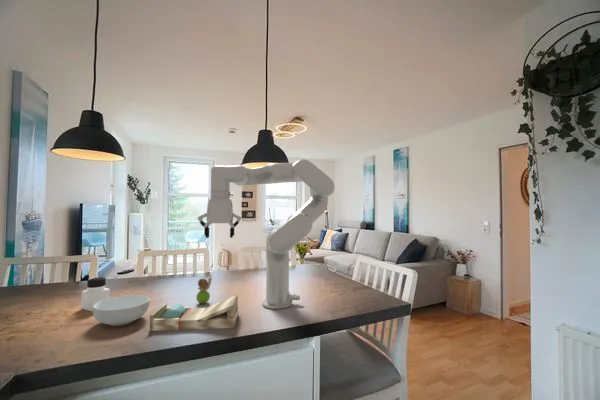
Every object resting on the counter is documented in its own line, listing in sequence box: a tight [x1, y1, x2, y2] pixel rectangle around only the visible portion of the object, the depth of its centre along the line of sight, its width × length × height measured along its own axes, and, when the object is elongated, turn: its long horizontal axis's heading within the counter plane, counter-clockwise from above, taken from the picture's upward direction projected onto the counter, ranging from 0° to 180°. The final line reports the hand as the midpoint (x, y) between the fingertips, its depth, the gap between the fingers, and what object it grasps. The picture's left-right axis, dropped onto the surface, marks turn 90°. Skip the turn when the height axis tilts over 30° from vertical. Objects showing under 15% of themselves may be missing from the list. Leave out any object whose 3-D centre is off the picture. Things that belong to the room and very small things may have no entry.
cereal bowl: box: [92, 294, 151, 327], centre depth 100 cm, size 17×17×7 cm
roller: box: [162, 303, 185, 318], centre depth 99 cm, size 5×8×5 cm
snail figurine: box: [196, 274, 213, 305], centre depth 120 cm, size 5×6×12 cm
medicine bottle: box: [80, 276, 112, 313], centre depth 114 cm, size 7×7×12 cm
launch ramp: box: [149, 294, 239, 332], centre depth 100 cm, size 27×12×8 cm, turn 96°
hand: (219, 237), depth 116 cm, fingers open, 9 cm apart
